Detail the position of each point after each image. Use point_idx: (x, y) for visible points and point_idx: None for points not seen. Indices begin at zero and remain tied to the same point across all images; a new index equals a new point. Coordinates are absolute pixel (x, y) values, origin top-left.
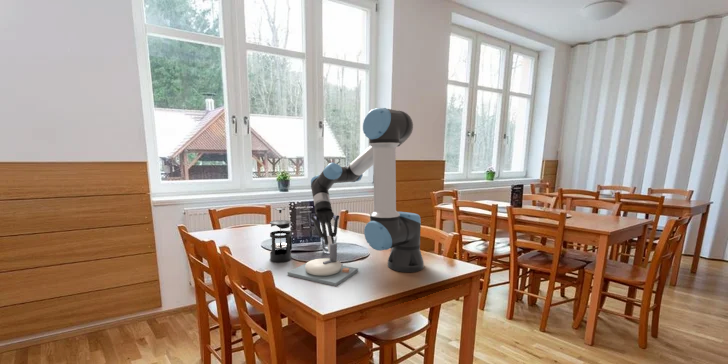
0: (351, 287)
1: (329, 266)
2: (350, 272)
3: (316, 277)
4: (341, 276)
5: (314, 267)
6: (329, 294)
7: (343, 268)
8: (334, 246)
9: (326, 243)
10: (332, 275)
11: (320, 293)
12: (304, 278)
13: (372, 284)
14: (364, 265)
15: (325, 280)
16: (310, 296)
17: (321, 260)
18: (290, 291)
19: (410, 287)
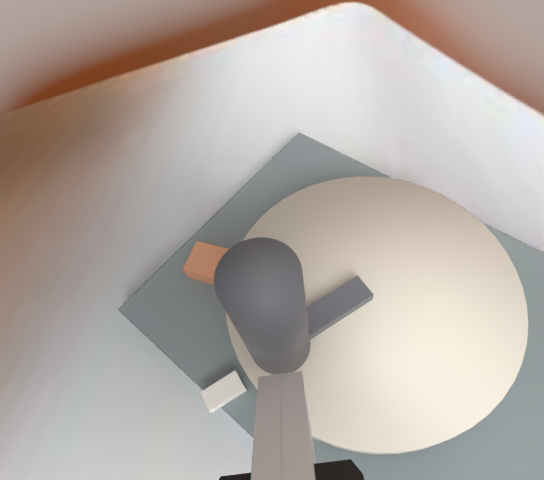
0: (231, 132)
1: (321, 235)
2: (189, 246)
3: None
4: (256, 198)
5: (434, 228)
6: (334, 87)
7: None
8: (253, 244)
9: (342, 468)
10: None
11: (373, 94)
12: None
13: (131, 150)
14: (28, 431)
15: (350, 159)
16: (414, 77)
17: (388, 384)
18: (519, 114)
19: (5, 119)
